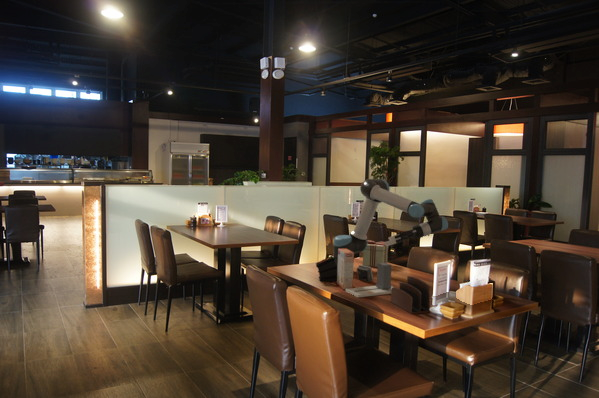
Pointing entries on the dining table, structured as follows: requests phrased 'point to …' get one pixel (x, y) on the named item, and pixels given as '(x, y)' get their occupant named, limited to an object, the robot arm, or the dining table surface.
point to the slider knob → (384, 276)
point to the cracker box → (345, 268)
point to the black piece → (327, 270)
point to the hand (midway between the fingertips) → (386, 242)
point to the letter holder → (412, 296)
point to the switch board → (368, 291)
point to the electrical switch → (365, 273)
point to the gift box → (375, 253)
